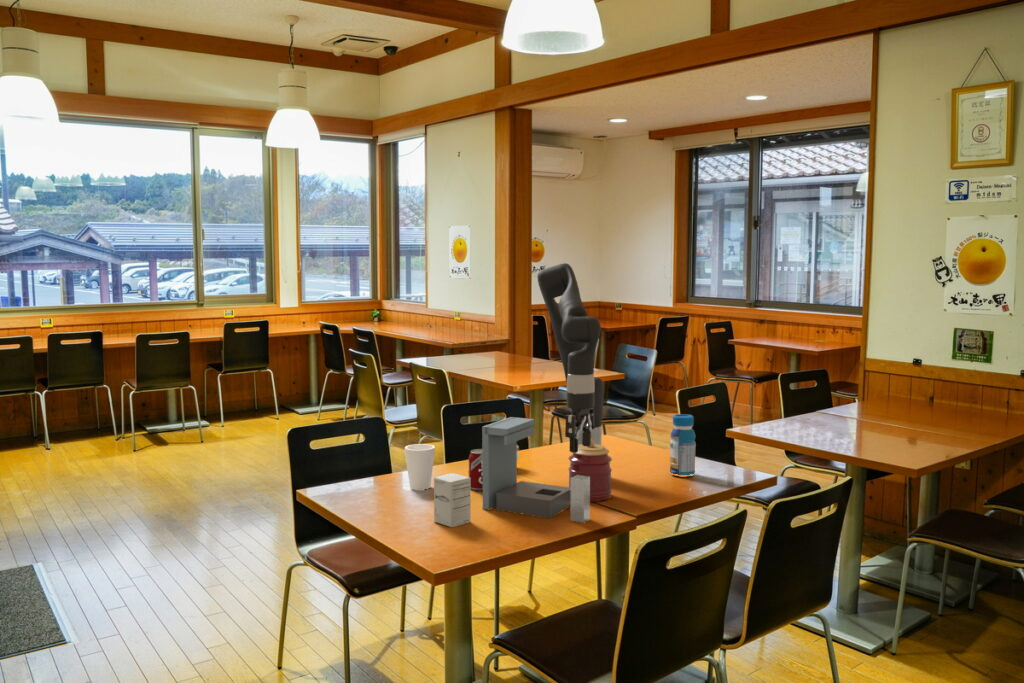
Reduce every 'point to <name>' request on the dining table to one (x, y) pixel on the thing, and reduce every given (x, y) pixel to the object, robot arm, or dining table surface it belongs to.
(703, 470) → the dining table surface
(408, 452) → the foam cup
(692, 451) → the beverage bottle
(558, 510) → the socket
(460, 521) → the supplement box
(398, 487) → the dining table surface
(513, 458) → the coffee dispenser stand
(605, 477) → the canister
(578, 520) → the peg
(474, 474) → the soda can
